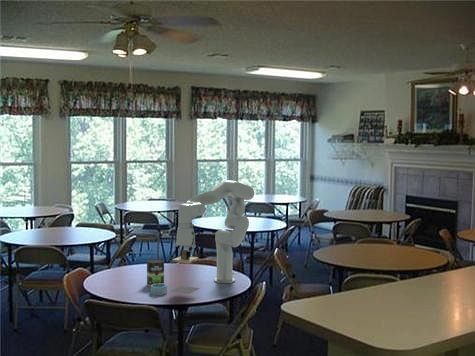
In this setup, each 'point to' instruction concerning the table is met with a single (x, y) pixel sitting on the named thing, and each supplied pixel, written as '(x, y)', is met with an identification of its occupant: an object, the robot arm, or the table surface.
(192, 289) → the mat
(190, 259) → the lid
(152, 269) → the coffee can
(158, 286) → the bowl
